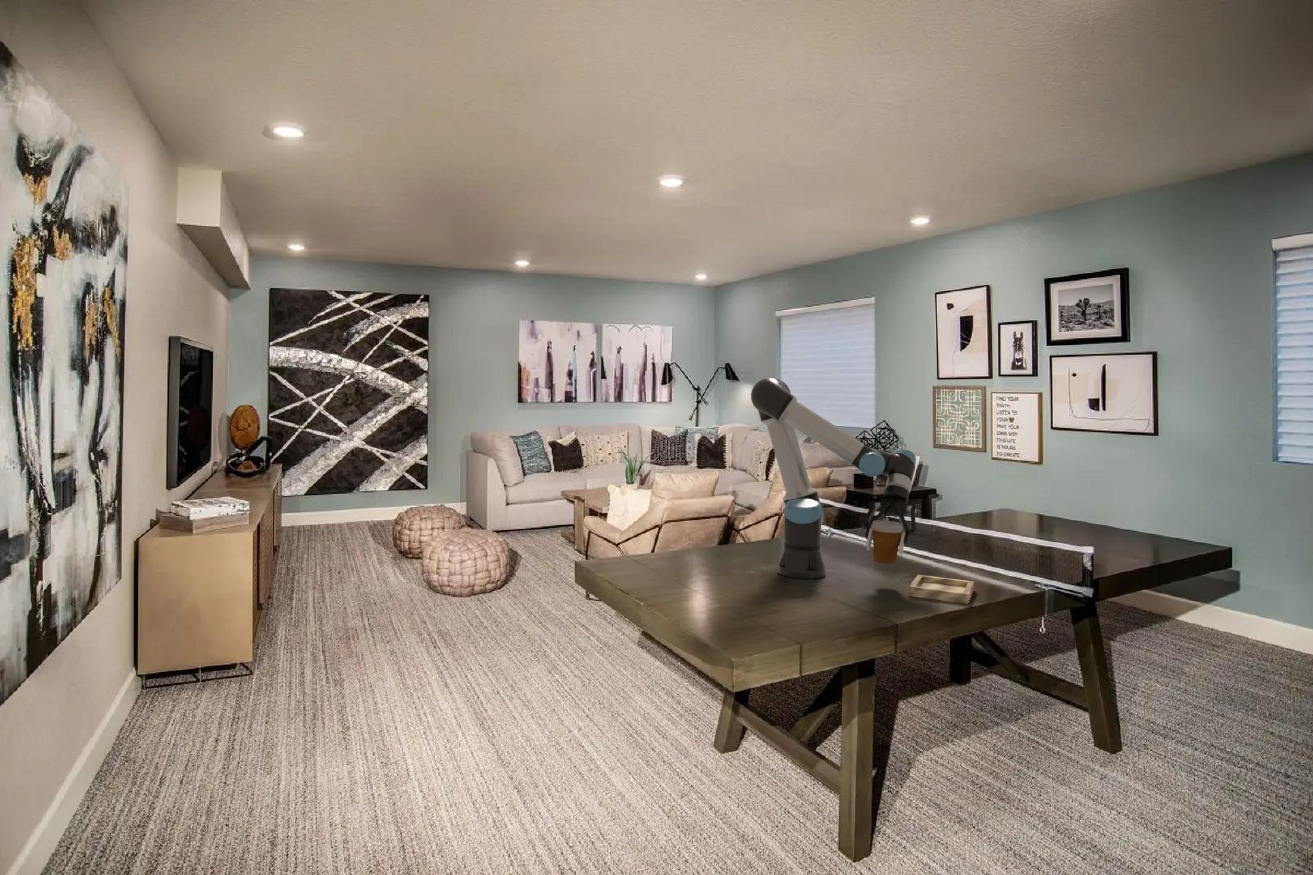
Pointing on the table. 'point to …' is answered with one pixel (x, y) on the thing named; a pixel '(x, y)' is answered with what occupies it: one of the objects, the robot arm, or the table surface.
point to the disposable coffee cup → (886, 540)
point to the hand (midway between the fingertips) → (884, 549)
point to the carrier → (942, 589)
